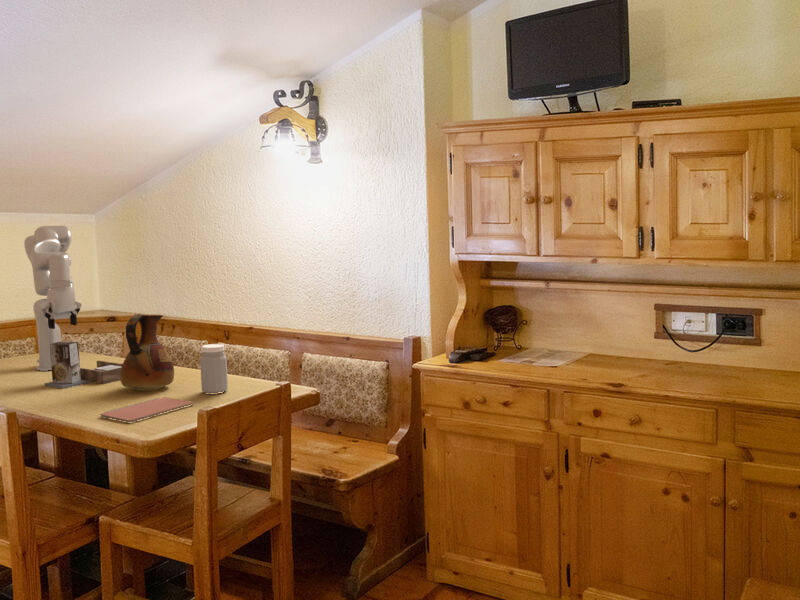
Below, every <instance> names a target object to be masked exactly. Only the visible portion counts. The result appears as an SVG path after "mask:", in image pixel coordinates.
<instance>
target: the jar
mask: <svg viewBox="0 0 800 600" xmlns="http://www.w3.org/2000/svg"><path fill="white" fill-rule="evenodd" d="M224 350H225V345H224V344H222V343H211V344H210V343H209V344H203V345H202V346H201V352H202V353H201V358H200V359H199V360H200V365H199V366H200V380H201V382H200V383H201V385H200V386H201V391H202V393H204V392H205V393H218V392H223V391H225V392H227V390H228V388H229V387H228V386H229V385H228V384H229V383H228V364H227V363H228V362H227V361H228V360H227V359H228V358H227V356H226V354H225V352H224ZM205 393H204V394H205Z"/></svg>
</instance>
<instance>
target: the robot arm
mask: <svg viewBox="0 0 800 600" xmlns="http://www.w3.org/2000/svg"><path fill="white" fill-rule="evenodd" d="M71 242H72V232H71V230H70V228H69V227H67V226H66V225H43V226H39V227H37V228H36V229H35V231H34V233H33V235H29V236H26V237H25V238H24V241H23V243H24V250H25V253H26V255H27V258H28V260H29V261H30V263H31V268H32V276H33V285H34V290H35V293H36V294H37V295H38V296H42V297H46V298H41V299H38V300H36V301H35V302H33V307H32V309H33V314H34V317H35V323H36V332H37V344H38V346H37V347H38V359H37V360H36V363H38V365H37V366H36V367H35V370H36V371H39V370H40V372H41V371H42V372H48V370H51V371H52V367H51V356H50V344H53V343H56V342H62V332H61V328H60V326H59V324H57V323H56V322H55V320H60V319H61V320H62V319H69V320H70V321H69V322H70V325H71V326H77V325H78V319H77V318H78V314H79V313H80V311H81V307H82V305H83V304H82V303H81V302H79V301H76V294H75V293H76V292H75V286H74V280H73V277H72V276H71V272H70V269H71V268H70V267H71V265H72V260H71V256H70V255H69V254H68V252H67V251H68V249H69V248H70V245H71Z"/></svg>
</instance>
